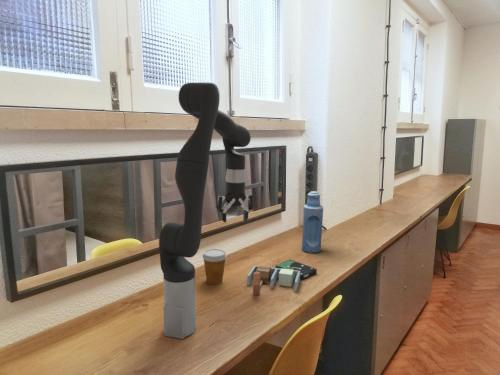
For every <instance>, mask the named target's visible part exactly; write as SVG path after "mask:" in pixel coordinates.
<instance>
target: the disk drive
mask: <svg viewBox="0 0 500 375" xmlns="http://www.w3.org/2000/svg"><path fill="white" fill-rule="evenodd" d="M274 268H280V269H281V268H282V269H290V270H297V271H300V281H304V280H306V279H308V278H310V277H313V276H316V275H317V271H318V270H317V268H314V267H312V266H309V265H306V264H305V263H301V262H298V261H297V260H296V261H295V260H293V259H287V260H286V261H285V260H284V261H283V262H281V263H279V264H276V265H275V267H274Z"/></svg>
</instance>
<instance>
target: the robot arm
mask: <svg viewBox="0 0 500 375" xmlns="http://www.w3.org/2000/svg"><path fill="white" fill-rule="evenodd" d="M220 98H221V96H220V90H219V87H218V85H217V84H216V83H214V82H208V81H206V82H187V83H184V84H183V85H181V86H180V89H179V91H178V102H179V105H180V107H181V109H182V110H183V111H184V112H185V113H186V114H189V115H191V116H193V117H194V118H196V119H198V121H197V125H196V127H195V129H194V131H193V133H192V134H191V136H190V137H189V138H188V140H186V141H185V144H183V146H182V148H181V149H180V150H179V152H178V154H177V157H176V158H177V159H176V163H175V166H176V167H175V172H174V179H175V184H176V185H177V186H176V187H177V189H178V192H179V194H180V197H181V200H182V203H183V208H184V220H183V223H181V222H180V223H179V222H173V221H172V222H171V221H170V222H167V223H165V224H164V225H163V226H162V228H161V230H160V232H159V237H158V251H159V262H160V263H159V264H160V269H161V271H162V274H163V276H162V277H163V304H164V305H163V333H164V334H163V335H164V336H165V337H170V338H176V339H180V340H184V339H185V338H186V337H188V336H190V335H193V333H194V332H195V331H196V330H197V329H196V326H197V325H196V322H197V321H196V315H197V314H196V313H197V312H196V267H195V265H194V264H193V263H191V262H190V261H189V260H188V259H186V258H193V257H195V256H196V255H197V253H198V251H199V249H200V245H201V240H202V228H203V207H204V199H205V189H206V183H207V176H208V171H209V164H210V161H209V160H210V153H211V145H212V140H213V134H214V131H215V132H216V133H218V135H220V136H221V137H222V143H223V147H224V151H225V155H226V172H225V195H224V196H223V195H219V194H218V195H217V201H216V211H218V212H219V213H221V215H220V216H221V221H222V222H223V223H227V211H228V210H229V209H230V208H231V207H232V208H233V207H234V208H235V207H240V206H241V207H242V209H243V212H242V213H243V214H242V216H243V221H245V222H247V221H248V220H249V211H252V210H253V209H254V196H253V195H252V194H250V193H248V194H246V156H245V154H243V153H240V152H238V151H236V149H235V148H245V147H247V146H249V145H250V142H251V133H250V131H249V130H248V129H247V128H246V127H245V126H243V125H242V124H240V123H238V122H235V120H234V119H233V118H232V117H231V116H230V115H229V114H228V113H226V112H224V111H223V110H220V109H219V107H220ZM224 200H225V201H226V202H225V203H224ZM246 200H247V205H246V204H245V201H246ZM223 203H224V205H223Z"/></svg>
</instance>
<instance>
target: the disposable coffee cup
mask: <svg viewBox="0 0 500 375" xmlns="http://www.w3.org/2000/svg"><path fill="white" fill-rule="evenodd" d="M227 257H228V256H227V254H226V251H225V250H223V249H221V248H212V249H211V248H210V249H206V250H204V251H203V254H202V260H203V263H204V270H205V271H204V272H205V277H206V283H207V284H210V285H219V284H222V283H223V278H224V270H225V265H226V264H225V263H226V259H227Z"/></svg>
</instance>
